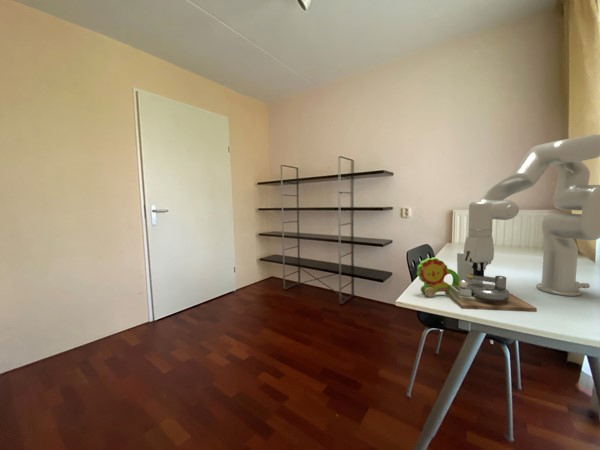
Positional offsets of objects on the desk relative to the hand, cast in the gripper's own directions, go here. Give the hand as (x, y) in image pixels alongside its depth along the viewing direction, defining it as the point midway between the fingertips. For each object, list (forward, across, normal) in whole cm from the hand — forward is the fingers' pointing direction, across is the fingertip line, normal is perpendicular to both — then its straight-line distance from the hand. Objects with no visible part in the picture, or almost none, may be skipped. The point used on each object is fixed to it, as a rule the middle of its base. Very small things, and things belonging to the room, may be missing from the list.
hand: (478, 279), depth 99 cm
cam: (+5, +2, +6) cm, 8 cm away
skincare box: (+7, -7, -11) cm, 15 cm away
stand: (+7, +2, +6) cm, 9 cm away
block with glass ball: (+5, +10, +3) cm, 11 cm away
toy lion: (+7, +15, -4) cm, 17 cm away
